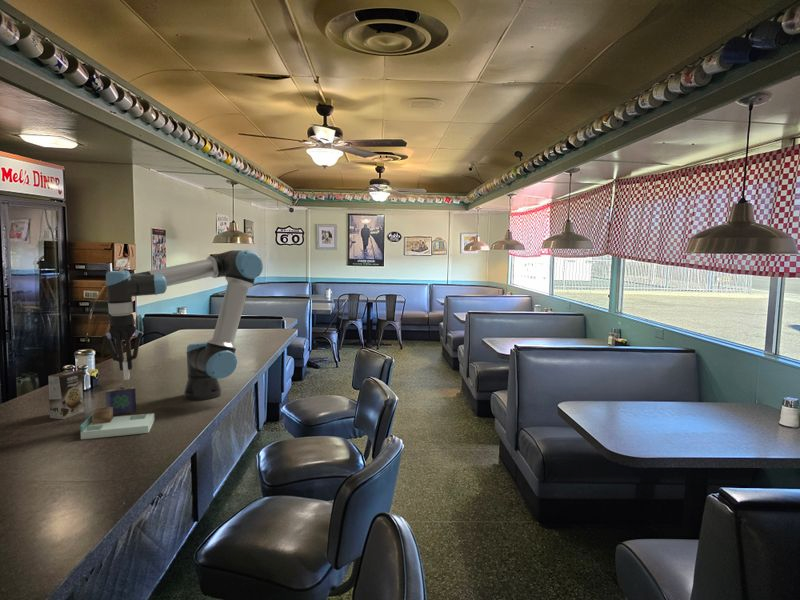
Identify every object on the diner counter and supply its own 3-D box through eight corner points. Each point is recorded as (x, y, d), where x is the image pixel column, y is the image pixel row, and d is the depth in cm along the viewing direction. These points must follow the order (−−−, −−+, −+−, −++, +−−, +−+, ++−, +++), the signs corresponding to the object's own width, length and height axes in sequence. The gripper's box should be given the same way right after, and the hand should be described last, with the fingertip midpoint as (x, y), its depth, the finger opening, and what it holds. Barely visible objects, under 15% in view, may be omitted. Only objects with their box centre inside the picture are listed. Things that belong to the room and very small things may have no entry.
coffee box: (64, 419, 182) (61, 376, 181) (49, 418, 183) (47, 375, 182) (84, 412, 191) (82, 370, 189) (70, 410, 192) (68, 370, 191)
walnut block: (113, 417, 177) (112, 406, 176) (110, 422, 172) (109, 411, 172) (97, 419, 175) (96, 408, 175) (93, 423, 170) (93, 412, 170)
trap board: (154, 419, 182) (154, 408, 182) (148, 432, 169) (147, 420, 169) (92, 425, 176) (91, 413, 175) (80, 439, 163) (80, 426, 162)
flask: (106, 416, 186) (105, 386, 185) (106, 414, 188) (105, 384, 187) (136, 412, 191) (135, 383, 190) (136, 410, 193) (135, 381, 192)
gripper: (143, 311, 182) (148, 374, 185) (102, 314, 178) (108, 378, 181) (139, 314, 175) (145, 379, 178) (97, 316, 171) (104, 383, 173)
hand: (127, 378), depth 179 cm, fingers closed
